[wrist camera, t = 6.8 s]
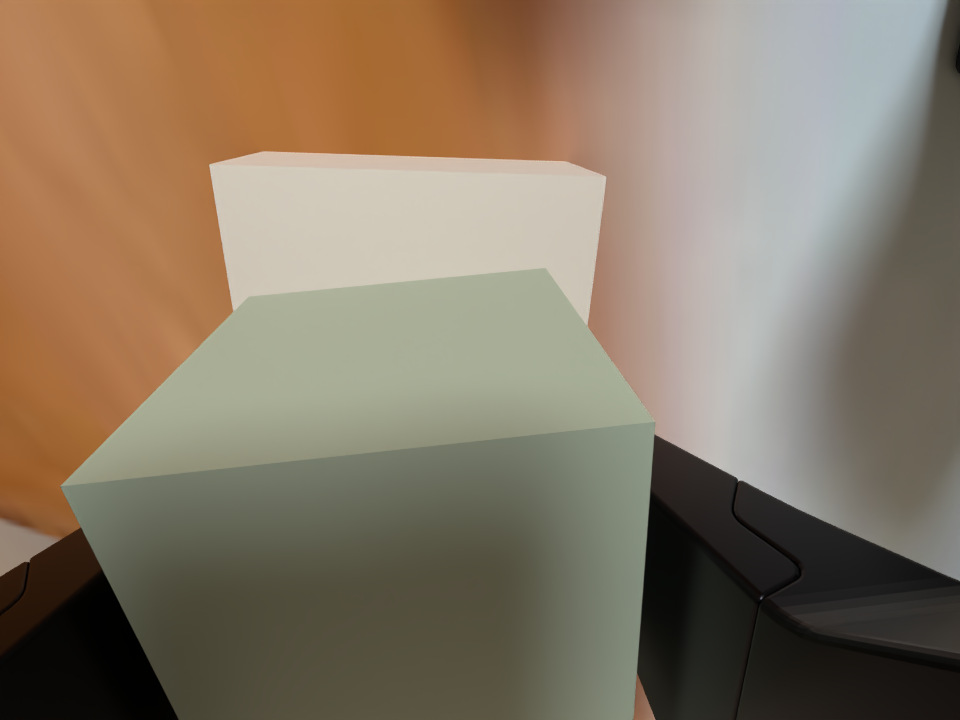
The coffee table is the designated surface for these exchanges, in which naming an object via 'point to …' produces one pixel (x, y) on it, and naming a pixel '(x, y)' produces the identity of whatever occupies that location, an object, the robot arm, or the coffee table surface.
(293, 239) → the base block
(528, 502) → the green cube
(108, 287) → the coffee table surface
